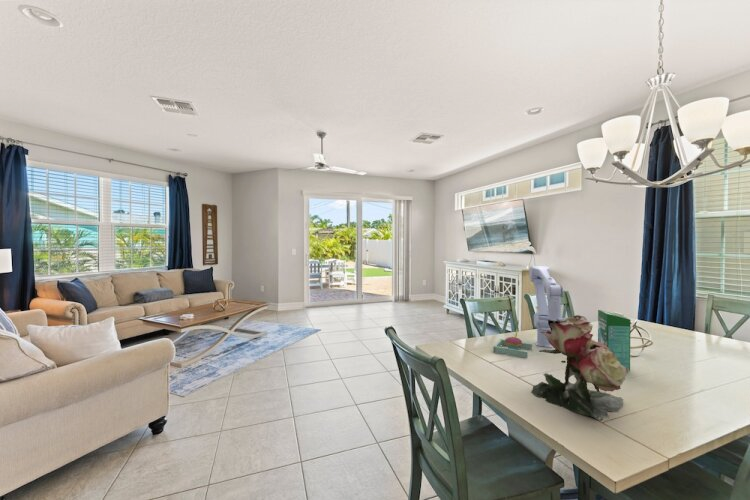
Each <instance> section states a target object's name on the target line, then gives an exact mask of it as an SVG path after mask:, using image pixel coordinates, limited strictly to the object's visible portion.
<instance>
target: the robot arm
mask: <svg viewBox="0 0 750 500" xmlns="http://www.w3.org/2000/svg"><path fill="white" fill-rule="evenodd" d="M528 273H529V280H530V282H532V283H533V285H534V290H535V297H536V304H537V311H536V312H535V313H534V314H533V324H534V325H533V326H534V327H535V328H536V331H537V332H536V337H537V338H536V343H535V346H539V347H546V348H550V349H552V348H553V346H552V345H551V344H550V343H549V342H548V339H547V337H546V336H545V334H543V333H541V332H545V333H546V332H547V330H548V331H551V332H552V327H550V324H551V323H560V322H557V320H556V319H559V320H560V321H561V322H562V321H564V319H565V318H566V317H562V314H561V313H562V311H561V310H562V306H561V305H562V304H561V303H562V297H563V296H564V295H563V293H564V289H563V286H562V285H561V284H558V283H557V282H556V279H554V278H553V277H552V276H551V268H550V266H549V265H537V266H536V265H530V266H529V272H528Z"/></svg>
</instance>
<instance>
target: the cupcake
mask: <svg viewBox="0 0 750 500" xmlns="http://www.w3.org/2000/svg"><path fill="white" fill-rule="evenodd" d="M518 329H519V328H518V327H517V328H516V329H515V335H514V336H510V337H507V338H505V339H504V340H505V342H504V343H505V344H506V345H507V346H506V348H509V349H515V350H520V349H521V348H520V346H522V342H523V341H522V340H521V339H520V338H518V332H519V331H518Z"/></svg>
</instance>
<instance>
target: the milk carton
mask: <svg viewBox="0 0 750 500" xmlns="http://www.w3.org/2000/svg"><path fill="white" fill-rule="evenodd" d="M624 315H625V314H623V313H622V312H617V311H613V312H610V311H605V310H601V309H598V311H597V342H600V343H603V344H606V347H608V348H609V350H610V351H612V352H613V354H615V356H616V357H617V361H619V362H620V364H621V365H622V366H624V367H626V368H627V369H628V371H627V372H631V319H630V318H627V317H625V316H624Z"/></svg>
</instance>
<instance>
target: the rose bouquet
mask: <svg viewBox="0 0 750 500" xmlns="http://www.w3.org/2000/svg"><path fill="white" fill-rule="evenodd" d="M564 318H565V319H564V321H562V322H561V321H560V320H559V319H556V320H557V322H560V323H551V324H550V327H552V332H551V331H548V330H547V332H546V333H545V332H541V333H543V334H545V336H546V337H547V339H548V342H549V343H550V344H551V345H552V348H553V349H548V348H545V349H541V350H538V353H547V354H553V355H557V354H561V355H562V356H563V355H564V356H565V357H566V358H565V359H566V360H561V361H560V362H561V363H563V364H566V366H565V369H564V382H562V381H561V380H560V379H559V378H556V377H555V376H553V375H552V374H551V373H550V374H549V373H547V372H545V373H543V376H544V378H545V381H546V382H544V381H541V382H539V383H538V384H535V385H533V386H532V390H531V392H530V393H531V394H533V396H535V398H536V397H537V398H539V399H540V400H541V399H545V402H547V403H549V404H553V405H556V406H558V407H563V408H566V409H569V410H570V411H572V412H575V413H576V414H580V415H582V416H586V417H592V418H594V419H596V420H597V421H598V420H599V421H603V420H604V417H605V418H608V419H610V420H612V421H613V419H612V418H610V417H609V413H608V412H619V411H620V410H621V408H622V406H623V402H624V399H623V397H621V396H615V395H612V394H611V393H607V392H614V391H619V390H620V389H622V388H621V385H623V383H624V381H625V380H626V376H627V373H628V372H629V371H628V369H627V368H626V367H624V366H622V365H621V364H620V362H619V361H617V357H616V356H615V354H613V352H612V351H610V350H609V348H608V347H606V344H603V343H600V342H598V341H596V340H594V339H592V338H593V336H594V334H593V333H591V332H592V330H593V327H594V326H593V324H592V322H591V321H589V320H588V319H587V317H585V316H582V315H580V314H576V315H573V316H570V317H569V316H568V317H564ZM572 376H573V377H574V378H575V380H576V381H575V382H574V383H572V382H570V381H569V380H570V378H571V377H572ZM588 384H592V385H593V386H594V389H595V390H591V389H588ZM600 390H601V391H602V392H601V391H600Z"/></svg>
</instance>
